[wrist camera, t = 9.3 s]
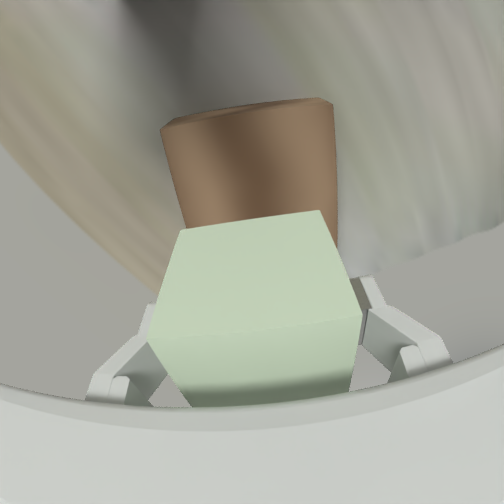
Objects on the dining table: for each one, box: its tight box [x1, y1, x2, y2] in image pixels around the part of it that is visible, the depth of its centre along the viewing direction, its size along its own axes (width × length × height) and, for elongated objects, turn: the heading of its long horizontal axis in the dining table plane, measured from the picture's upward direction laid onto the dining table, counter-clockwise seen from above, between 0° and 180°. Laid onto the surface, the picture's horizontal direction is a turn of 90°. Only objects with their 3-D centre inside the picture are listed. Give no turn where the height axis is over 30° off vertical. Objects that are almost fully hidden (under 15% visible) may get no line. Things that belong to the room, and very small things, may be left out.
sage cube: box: [146, 210, 363, 407], centre depth 10 cm, size 5×5×5 cm
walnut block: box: [160, 98, 337, 248], centre depth 20 cm, size 10×10×4 cm
